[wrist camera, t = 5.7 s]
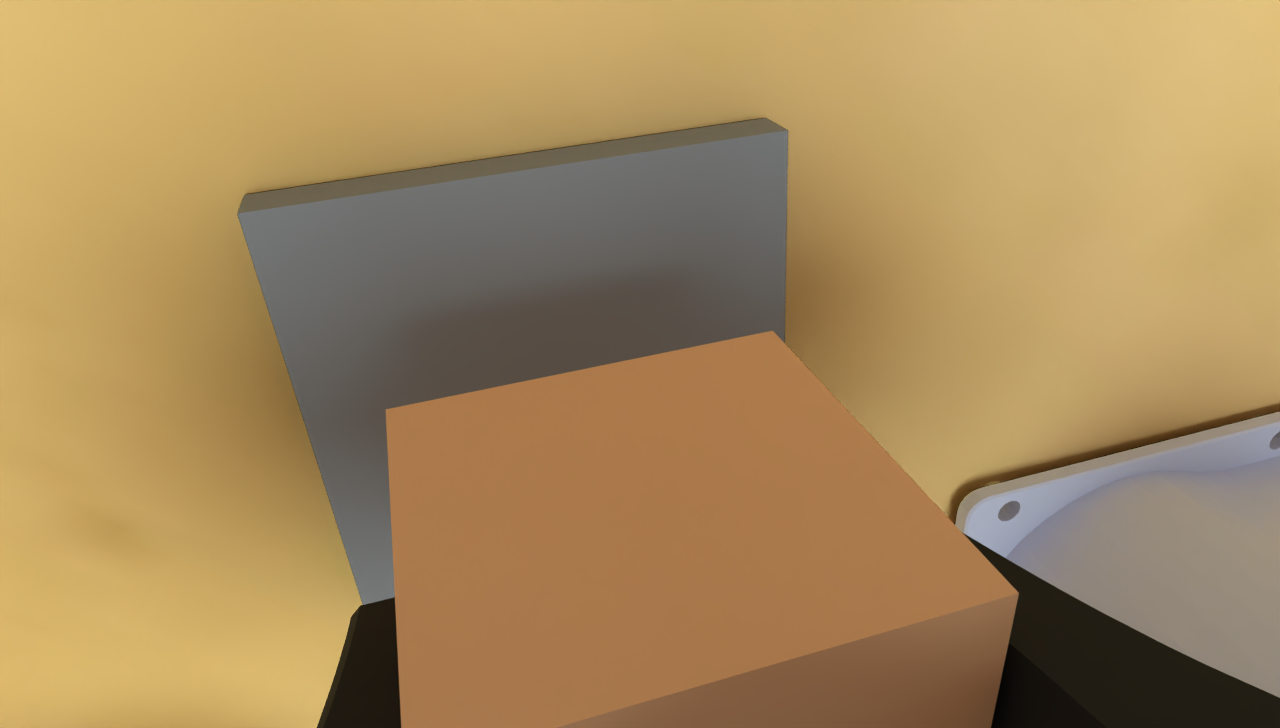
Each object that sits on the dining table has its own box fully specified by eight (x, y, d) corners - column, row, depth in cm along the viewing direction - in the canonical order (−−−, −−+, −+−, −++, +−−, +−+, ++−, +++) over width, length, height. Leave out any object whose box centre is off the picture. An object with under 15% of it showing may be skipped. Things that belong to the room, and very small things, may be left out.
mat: (766, 117, 13) (788, 130, 12) (764, 504, 17) (781, 530, 16) (244, 194, 11) (237, 213, 11) (371, 601, 15) (372, 633, 15)
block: (772, 330, 10) (1018, 593, 6) (770, 604, 12) (951, 918, 9) (385, 409, 9) (403, 771, 5) (459, 690, 11) (507, 1084, 8)
